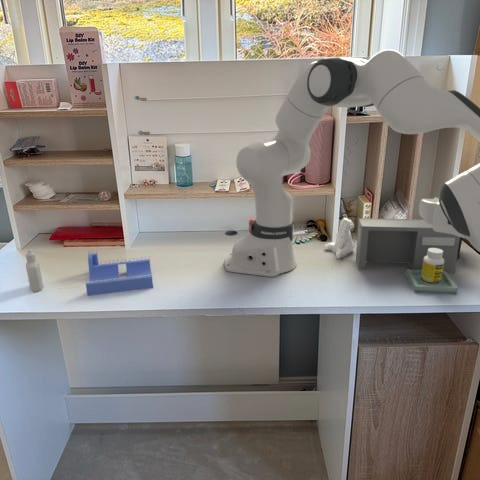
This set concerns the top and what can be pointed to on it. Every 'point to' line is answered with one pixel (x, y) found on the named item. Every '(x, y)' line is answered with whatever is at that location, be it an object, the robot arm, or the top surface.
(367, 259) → the printer housing
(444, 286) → the tray
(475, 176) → the robot arm
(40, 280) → the eye dropper bottle
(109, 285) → the blue plastic stand
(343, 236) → the seated beast figurine
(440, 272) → the supplement bottle
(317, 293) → the top surface
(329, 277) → the top surface
